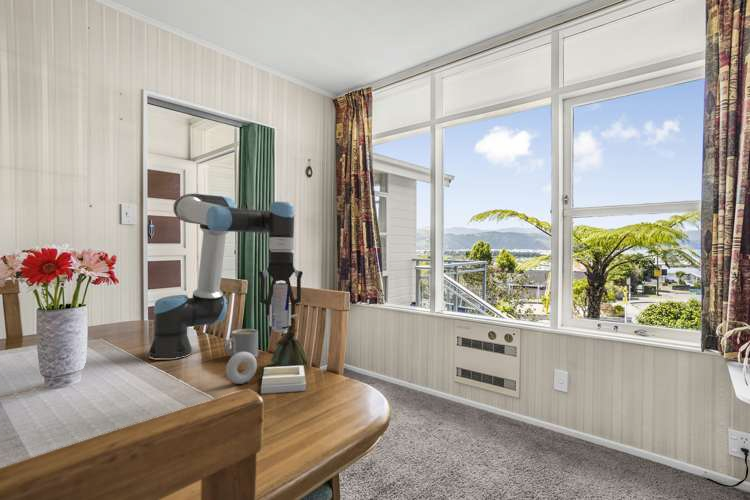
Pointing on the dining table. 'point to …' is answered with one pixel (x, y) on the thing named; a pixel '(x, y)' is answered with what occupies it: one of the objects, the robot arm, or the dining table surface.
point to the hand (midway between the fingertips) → (280, 325)
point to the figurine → (289, 349)
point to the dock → (283, 379)
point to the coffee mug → (243, 342)
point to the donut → (233, 364)
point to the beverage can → (280, 307)
